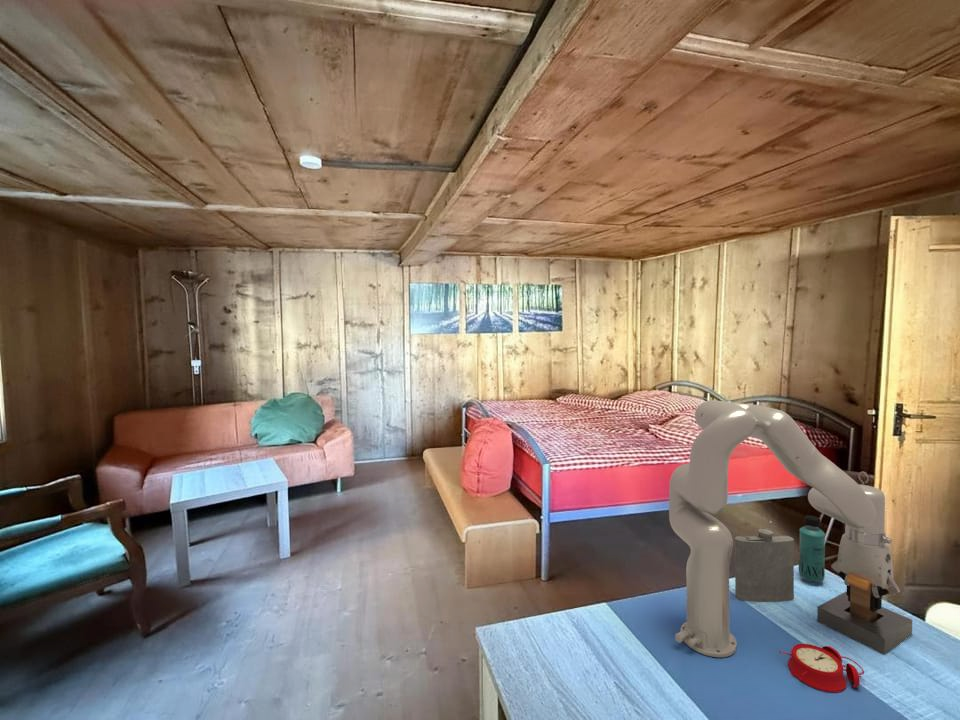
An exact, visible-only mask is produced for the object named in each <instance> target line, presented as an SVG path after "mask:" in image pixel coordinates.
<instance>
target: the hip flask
mask: <svg viewBox="0 0 960 720" xmlns="http://www.w3.org/2000/svg"><path fill="white" fill-rule="evenodd" d="M757 533H758V535H751V536H748V535H747V536H742V535H741V536H740V535H739V536H738V535H737V536H735V537H734V562H735V563H734V568H735V569H734V570H735V571H734V580H735V582H734V584H735V585H734V587H735V589H734V590H735V592H734V593H735V594H734V595H735V598H736V599H737V600H739V601H742V602H753V603H755V602H756V603H760V602H761V603H777V602H778V603H779V602H781V603H782V602H788V601H789V602H790V601H794V599H795V598H794V596H795V595H794V594H795V589H794V587H795V586H794V585H795V584H794V583H795V581H794V580H795V577H794V576H795V571H794V570H795V565H794V564H795V561H794V560H795V538H793V537H791V536H790V535H776V536H774V532H773V531H772V530H770V529H766V528H759V529H758V530H757Z"/></svg>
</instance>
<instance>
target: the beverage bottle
mask: <svg viewBox="0 0 960 720" xmlns="http://www.w3.org/2000/svg"><path fill="white" fill-rule="evenodd" d="M803 524H805V525H804V526H802V527H800V528H799V550H798V553H799V554H798V573H799V576H800V577H802V579H804V580H806V581H811V582H815V583H821V582H823V581H824V580H825V576H826V574H825V568H826V567H825V566H826V565H825V563H826V559H825V555H826V553H825V552H826V545H825V544H826V543H825V542H826V534H825V532H824V531H823V530H822V529H821V528H820V527H822V523H821V519H820V517H818V516H814V515H804V519H803Z"/></svg>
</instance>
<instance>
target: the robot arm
mask: <svg viewBox="0 0 960 720" xmlns="http://www.w3.org/2000/svg"><path fill="white" fill-rule="evenodd" d="M694 419H695V422H696V424H697V426H698V427H699V428H700V429H701V432H700V433H699V434H698V435H697V436H696V438H695V439H694V440H693V442H692V445H691V448H690V454H689V463H684V464H681V465H679V466H678V467H676V468H675V469H674V471H673V472H672V474H671V476H670V479H669V490H668V492H669V493H668V495H669V497H668V500H669V501H668V505H669V507H668V518H669V519H668V520H669V523H670V527H671V529H672V530H673V532H674V533H675V534H676V535H677V536H678V537H679V538H680V539H681V540H682V541H683V542H684V543H685V544H687V545H688V547H689V549H690V554H689V556H688V559H687V562H686V569H685V571H686V572H685V573H686V574H685V577H686V581H685V582H686V621H685V622H683V624H682V625H681V626H680V631H679V632H677V633H675V634H674V639H675V641H676V642H677V643H679V644H680V643H682V642H684V643H685V644H686V645H687V646H688V647H689V648H691V649H692V650H694V651H695V652H697V653H699V654H702V655H705V656H709V657H713V658H726V657H730V656H732V655H733V654H735V653H736V651H737V649H738V648H737V647H738V643H737V639H736V637H735V636H734V635H733V633H732V632H731V631H730V566H731V559H732V554H733V550H734V539H733V535H732V534H731V532H730V529H728V527H727V526H726V525H725V524H724V523H723V522H722V521H720V520H719V519H718V518H716V517H714V516H713V515H715V514H716V515H717V514H719V513H721V512H723V510H725V508H726V506H727V503H728V499H729V498H728V497H729V495H728V494H729V464H730V463H729V462H730V459H731V455H732V454H733V453H732V452H733V451H734V450H735V449H736V448H737V447H738V446H739V445H740V444H741V443H743V442H744V441H745V440H747V439H749V438H750V437H753V438H756V439H758V440H761V441H762V443H764V445H765V446H766V447H767V448H768V450H769V451H770V452H771V453H772V454H773V456H774V457H775V458H776V460H777V461H778V462H779V463H780V464H781V465H782V467H783V468H784V469H785V470H786V471H787V472H788V473H790V474H791V475H792V476H794V478H796V479H797V480H799V481H801V482H803V483H804V484H807V485H808V486H810V487H811V489H810V490H809V492H808V495H807V500H808V503H809V505H811V507H813V508H814V509H815V510H816V511H817V512H819V513H821V514H824V515H826V516H827V517H828V516H829V517H830V518H832V519H835V520H837V521H839V522H841V523H842V524H845V525H844V529H845V530H844V533H843V534H842V535H841V539H840V541H839V547H838V554H837V560H835V561H834V562H833V563H832V564H831V569H833V571H834V572H836V573H837V574H838V575H839V577H840V578H841V579H842V581H843V583H844V585H845V586H846V592H847V596H848V601H849V602H850V584H849V583H847V575H849V574H852V575H855V576H857V577H860V578H862V579H865V580H868V581H869V582H870V584H871V588H872V592H873V595H872V596H871V597H870V610H871V611H872V612H875V611H877V610H878V609H881V607H883V605H882V602H883V601H882V597H883V596H886V595H889V594H890V595H892V594H898V593H900V592H901V589H900V587H899V586H898V585H897V583H896V581H895V580H894V567H893V566H894V564H893V558H892V553H891V549H890V546H889V545H891V544H892V540H893V539H892V538H890V537H887V535H886V532H885V521H886V520H885V519H886V517H885V514H886V511H885V510H886V507H885V506H886V495H885V493H884V491H882V490H881V489H880V488H877V487H874V486H872V485H866V484H858V483H857V482H856V480H854V478H852V477H851V476H850V475H849V474H847V473H846V472H845V471H843V469H841V468H840V467H839V466H837V465H836V464H835V463H834V462H832V461H831V459H828V458H827V456H824V455H823V454H822V453H821V452H820V451H819V450H818V449H817V447H816V446H815V445H814V443H812V441H811V440H810V439H809V438H808V436H807V435H806V434H805V433H804V431H803V430H802V428H801V427H800V426H799V425H798V423H797V422H796V421H795V420H794V419H793V418H792V416H790V415H789V414H788V413H786V411H783V410H781V409H779V408H778V409H777V408H772V407H768V406H764V405H759V404H751V403H742V402H733V401H732V402H731V401H723V400H716V399H711V400H706V401H703V402H702V403H700V404H699V405H698V406H697V407H696V409H695V411H694ZM886 584H887V586H888V587H886Z"/></svg>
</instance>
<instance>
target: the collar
mask: <svg viewBox="0 0 960 720" xmlns="http://www.w3.org/2000/svg"><path fill="white" fill-rule="evenodd" d="M816 611H817V619H816V620H817V622H818V623H820V624H821V625H824V626H826V627H828V628H830V629H832V630H834V631H836V632H838V633H840V634H842V635H844V636H846V637H847V638H850V639H852V640H854V641H856V642H857V643H860V644H862V645H864V646H866V647H868V648H869V649H872V650H873V651H875V652H878V653H879V654H882V655H884V656H885V655H886V654H888V653H890V652H891V651H892V650H894V649H895V648H896V647H898V646H900V643H901V642H902V643H903V642H905V641H906V640H907V639H906V638H908V637H909V636H910V637H912V636H913V619H912V618H909V617H906V616H904V615H902V614H900V613H898V612H895V611H894V610H893V611H892V610H890V609H889V608H886V607H883V606H882V607H881V609H878V610H877V621H875V622H874V623H870V622H868V621H866V620H864V619H861V618H859V617H857V616H855V615H853V614H850V602H849V601H848V596H847V591H844V592H842V593H840V594H839V595H836V596H834V597H833V598H831V599H829V600H827V601H826V602H823V603H822V604H820V605H818V606H817V610H816ZM911 635H912V636H911ZM910 637H909V638H910ZM909 638H908V639H909ZM905 639H906V640H905ZM904 640H905V641H904ZM902 643H901V644H902Z"/></svg>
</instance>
